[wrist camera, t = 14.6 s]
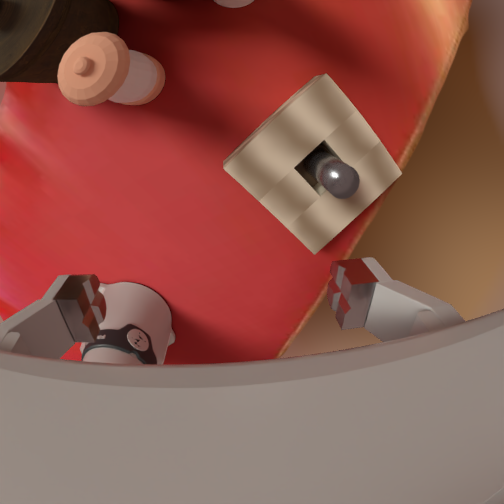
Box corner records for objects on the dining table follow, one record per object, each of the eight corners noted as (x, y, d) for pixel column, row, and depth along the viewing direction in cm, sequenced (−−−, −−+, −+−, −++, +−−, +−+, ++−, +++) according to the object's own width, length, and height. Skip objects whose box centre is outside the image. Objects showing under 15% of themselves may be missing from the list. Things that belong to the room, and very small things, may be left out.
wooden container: (41, 11, 23) (-47, -15, 4) (124, -14, 25) (60, -79, 6) (34, 92, 30) (-69, 106, 11) (116, 73, 32) (26, 56, 12)
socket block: (305, 239, 47) (314, 254, 43) (223, 161, 40) (223, 168, 35) (385, 165, 42) (402, 173, 38) (314, 76, 35) (326, 73, 31)
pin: (317, 181, 41) (343, 205, 33) (298, 163, 40) (320, 183, 31) (335, 161, 40) (365, 181, 31) (316, 143, 39) (344, 158, 30)
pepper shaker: (172, 61, 32) (134, 27, 15) (156, 109, 35) (105, 114, 18) (124, 52, 30) (58, 23, 14) (109, 100, 33) (34, 104, 17)
